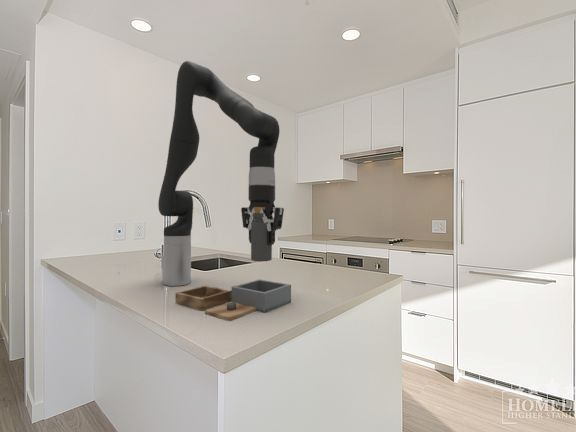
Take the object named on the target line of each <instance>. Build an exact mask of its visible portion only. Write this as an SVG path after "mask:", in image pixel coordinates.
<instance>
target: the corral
mask: <svg viewBox="0 0 576 432" xmlns="http://www.w3.org/2000/svg"><path fill="white" fill-rule="evenodd" d="M174 297H175V298H174V299H175V304H176V305H179V306H183V307H186V308H190V309H193V310H196V311H201V312H202V311H205V310H208V309H211V308H214V307H217V306H220V305H223V304H226V303H230V302H231V290H229V289H224V288H218V287H215V286H210V285H202V286H199V287H194V288H191V289H187V290H186V289H185V290H182V291H178V292H175V296H174Z"/></svg>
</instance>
